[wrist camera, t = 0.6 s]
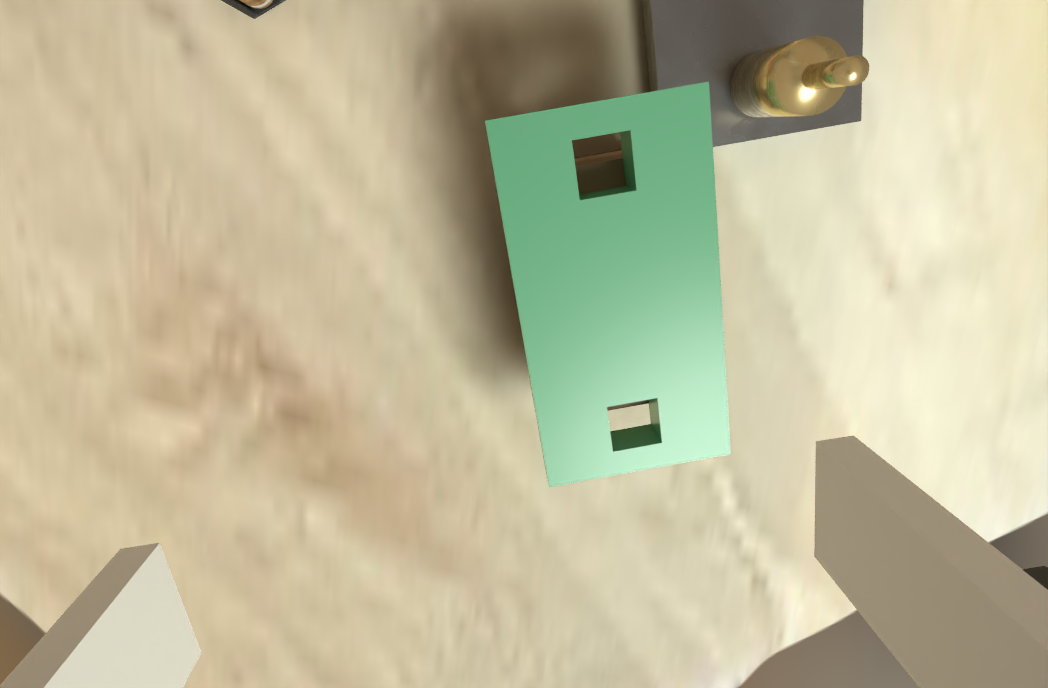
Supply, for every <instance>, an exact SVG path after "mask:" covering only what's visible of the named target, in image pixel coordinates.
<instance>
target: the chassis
mask: <svg viewBox="0 0 1048 688" xmlns="http://www.w3.org/2000/svg"><path fill="white" fill-rule="evenodd" d="M642 5H643V17H644V28H645V39H646V51H647V62H648V73H649V84H650V92H652V91H658V90H664V89H670V88H675V87H681V86H687V85H692V84H698V83H704V82H709V92H710V109H711V126H712V144H713V147H715V146H721V145H727V144H732V143H738V142H744V141H749V140H755V139H761V138H766V137H772V136H778V135H783V134H789V133H795V132H800V131H806V130H812V129H818V128H823V127H829V126H835V125H840V124H846V123H852V122H857V121H861V100H862V82H863V81H864V80H865V79H866V77H867V75H868V72H869V63H868V61H867V59H866V58H865V57H863V56H862V46H863V0H642Z"/></svg>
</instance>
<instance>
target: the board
mask: <svg viewBox="0 0 1048 688" xmlns="http://www.w3.org/2000/svg"><path fill="white" fill-rule="evenodd" d="M485 126H486V132H487V138H488V143H489V149H490V155H491V160H492V166H493V172H494V178H495V183H496V189H497V195H498V200H499V206H500V212H501V218H502V223H503V229H504V235H505V240H506V246H507V252H508V258H509V263H510V269H511V275H512V280H513V286H514V292H515V298H516V303H517V309H518V315H519V320H520V326H521V332H522V338H523V343H524V349H525V355H526V360H527V366H528V372H529V378H530V383H531V389H532V395H533V400H534V406H535V412H536V418H537V423H538V429H539V435H540V440H541V446H542V452H543V458H544V463H545V469H546V474H547V479H548V484H549V487H553V486H559V485H564V484H570V483H575V482H581V481H586V480H592V479H597V478H603V477H608V476H614V475H619V474H625V473H630V472H636V471H641V470H647V469H652V468H657V467H663V466H668V465H674V464H679V463H685V462H690V461H696V460H701V459H707V458H712V457H718V456H723V455H729V454H731V451H730V434H729V417H728V400H727V383H726V365H725V348H724V331H723V314H722V297H721V280H720V263H719V246H718V229H717V212H716V195H715V178H714V161H713V144H712V126H711V109H710V92H709V82H704V83H698V84H692V85H687V86H681V87H675V88H670V89H664V90H658V91H652V92H647V93H641V94H635V95H629V96H624V97H618V98H612V99H607V100H601V101H595V102H589V103H584V104H578V105H572V106H566V107H561V108H555V109H549V110H544V111H538V112H532V113H526V114H521V115H515V116H509V117H504V118H498V119H492V120H486V121H485ZM617 132H620V136H621V146H622V155H623V165H624V174H625V183H626V186H623V187H618V188H612V189H606V190H601V191H595V192H589V193H584V194H579V190H578V183H577V175H576V167H575V160H574V152H573V145H572V140H577V139H583V138H589V137H594V136H600V135H606V134H612V133H617ZM644 400H649V410H650V419H651V424H649V425H644V426H638V427H633V428H627V429H622V430H616V431H611V432H610V426H609V419H608V411H607V407H611V406H616V405H622V404H627V403H633V402H638V401H644Z"/></svg>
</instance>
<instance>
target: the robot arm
mask: <svg viewBox="0 0 1048 688" xmlns="http://www.w3.org/2000/svg"><path fill="white" fill-rule="evenodd" d="M814 556H815V558H816V559H817V560H818V561H819V563H820V564H821V565H822V566H823V568H824V569H825V570H826V571H827V573H828V574H829V575H830V576H831V578H832V579H833V580H834V581H835V583H836V584H837V585H838V586H839V588H840V589H841V590H842V591H843V593H844V594H845V595H846V596H847V598H848V599H849V600H850V601H851V603H852V604H853V605H854V606H855V608H856V609H857V610H858V611H859V613H860V614H861V615H862V616H863V618H864V619H865V620H866V621H867V623H868V624H869V625H870V626H871V628H872V629H873V630H874V631H875V632H876V634H877V635H878V636H879V638H880V639H881V640H882V641H883V643H884V644H885V645H886V646H887V648H888V649H889V650H890V651H891V653H892V654H893V655H894V656H895V657H896V659H897V660H898V661H899V663H900V664H901V665H902V666H903V668H904V669H905V670H906V671H907V673H908V674H909V675H910V676H911V678H912V679H913V680H914V681H915V683H916V684H917V685H918V686H919V687H920V688H1048V568H1047V567H1045V566H1041V567H1035V568H1029V569H1023V570H1022V569H1021V568H1019V567H1018V566H1017V565H1016V564H1014V563H1013V562H1012V561H1011V560H1009V559H1008V558H1007V557H1006V556H1004V555H1003V554H1002V553H1001V552H999V551H998V550H997V549H995V548H994V547H993V546H992V545H991V544H989V543H988V542H987V541H986V540H984V539H983V538H982V537H981V536H979V535H978V534H977V533H975V532H974V531H973V530H972V529H970V528H969V527H968V526H967V525H965V524H964V523H963V522H962V521H960V520H959V519H958V518H957V517H955V516H954V515H953V514H952V513H950V512H949V511H948V510H946V509H945V508H944V507H943V506H941V505H940V504H939V503H938V502H936V501H935V500H934V499H933V498H931V497H930V496H929V495H928V494H926V493H925V492H924V491H923V490H921V489H920V488H919V487H918V486H916V485H915V484H914V483H912V482H911V481H910V480H909V479H907V478H906V477H905V476H904V475H902V474H901V473H900V472H899V471H897V470H896V469H895V468H894V467H892V466H891V465H890V464H889V463H887V462H886V461H885V460H884V459H882V458H881V457H880V456H878V455H877V454H876V453H875V452H873V451H872V450H871V449H870V448H868V447H867V446H866V445H865V444H863V443H862V442H861V441H860V440H858V439H857V438H856V437H855V436H848V437H842V438H835V439H829V440H822V441H816V477H815V549H814ZM200 655H201V650H200V648H199V645H198V642H197V640H196V637H195V634H194V632H193V629H192V627H191V624H190V621H189V619H188V616H187V613H186V611H185V608H184V605H183V603H182V600H181V598H180V595H179V592H178V590H177V587H176V584H175V582H174V579H173V577H172V574H171V571H170V569H169V566H168V563H167V561H166V558H165V556H164V553H163V550H162V548H161V545H160V543H156V544H149V545H143V546H137V547H130V548H124V549H120V550H119V551H118V552H117V554H116V555H115V556H114V557H113V558H112V559H111V560H110V561H109V563H108V564H107V565H106V566H105V567H104V568H103V569H102V571H101V572H100V573H99V574H98V575H97V576H96V577H95V578H94V580H93V581H92V582H91V583H90V584H89V585H88V586H87V588H86V589H85V590H84V591H83V592H82V593H81V594H80V595H79V597H78V598H77V599H76V600H75V601H74V602H73V603H72V604H71V606H70V607H69V608H68V609H67V610H66V611H65V612H64V614H63V615H62V616H61V617H60V618H59V619H58V620H57V621H56V623H55V624H54V625H53V626H52V627H51V628H50V629H49V631H48V632H47V633H46V634H45V635H44V636H43V637H42V639H41V640H40V641H39V642H38V643H37V644H36V645H35V646H34V648H33V649H32V650H31V651H30V652H29V653H28V654H27V655H26V657H25V658H24V659H23V660H22V661H21V662H20V663H19V665H18V666H17V667H16V668H15V669H14V670H13V671H12V672H11V674H10V675H9V676H8V677H7V678H6V679H5V680H4V682H3V683H2V684H1V685H0V688H183V686H184V684H185V683H186V681H187V679H188V677H189V675H190V673H191V672H192V670H193V668H194V666H195V664H196V662H197V661H198V659H199V657H200Z"/></svg>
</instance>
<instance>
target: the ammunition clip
mask: <svg viewBox="0 0 1048 688" xmlns="http://www.w3.org/2000/svg"><path fill="white" fill-rule="evenodd" d="M222 1H223V2H225V3H227V4H229V5H230V6H232V7H234V8H236V9H238V10H239V11H241V12H243V13H245V14H246V15H248V16H250V17H252V18H254V19H255V18H257V17H258V16H260V15H262V14H264V13H265V12H267V11H269V10H270V9H272V8H274V7H275V6H277V5H279V4H280V3H282V2H284V1H285V0H222Z"/></svg>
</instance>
